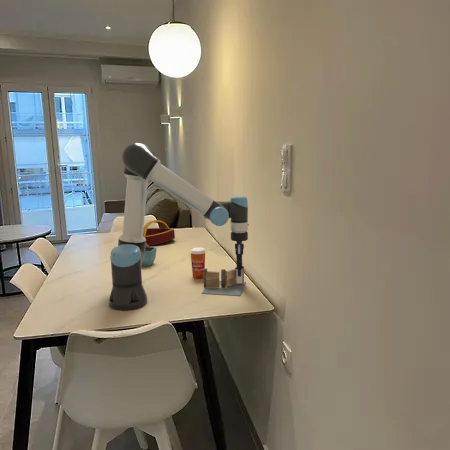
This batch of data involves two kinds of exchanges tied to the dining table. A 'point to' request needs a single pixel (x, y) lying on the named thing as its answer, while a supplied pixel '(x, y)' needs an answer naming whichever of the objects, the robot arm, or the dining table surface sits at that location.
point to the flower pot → (149, 256)
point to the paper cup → (198, 262)
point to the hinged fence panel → (233, 277)
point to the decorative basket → (157, 233)
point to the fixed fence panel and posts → (214, 278)
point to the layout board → (225, 290)
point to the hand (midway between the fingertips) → (239, 282)
